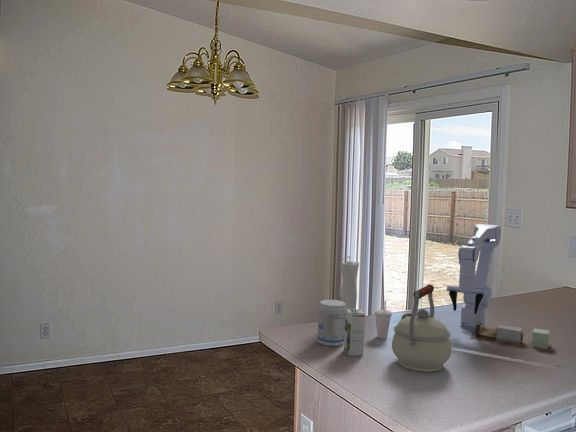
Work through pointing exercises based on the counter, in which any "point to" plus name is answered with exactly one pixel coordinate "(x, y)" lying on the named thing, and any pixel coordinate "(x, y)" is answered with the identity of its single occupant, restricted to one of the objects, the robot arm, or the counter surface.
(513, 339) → the metal sleeve
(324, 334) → the supplement tub
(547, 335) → the socket block
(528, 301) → the counter surface
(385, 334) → the smoothie
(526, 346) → the walnut board
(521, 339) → the slip rod
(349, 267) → the white bottle
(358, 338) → the syrup box
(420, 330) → the kettle
